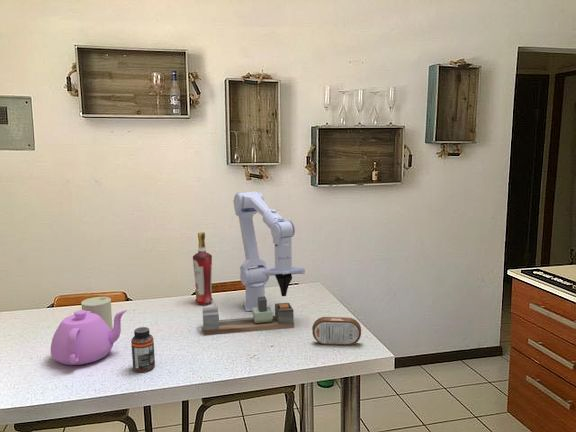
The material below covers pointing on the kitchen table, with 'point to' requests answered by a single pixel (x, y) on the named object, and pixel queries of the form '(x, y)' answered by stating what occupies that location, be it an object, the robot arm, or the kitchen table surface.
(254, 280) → the robot arm
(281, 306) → the button
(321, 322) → the tin
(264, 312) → the carriage
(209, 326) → the rail base
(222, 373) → the kitchen table surface
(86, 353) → the teapot
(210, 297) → the liquor
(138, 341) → the supplement bottle
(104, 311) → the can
